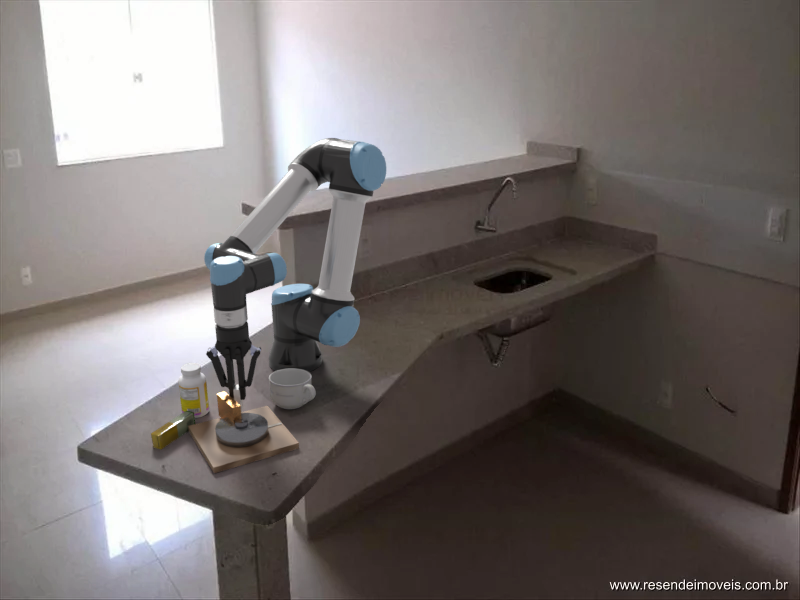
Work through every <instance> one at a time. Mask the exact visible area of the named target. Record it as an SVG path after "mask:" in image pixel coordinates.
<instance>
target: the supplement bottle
mask: <svg viewBox="0 0 800 600" xmlns="http://www.w3.org/2000/svg"><path fill="white" fill-rule="evenodd" d="M180 372H181V375H180V376H179V377H178V380H177V382H178V390H179V397H180V406H181V414H182V413H183V412H185V411H191V412H194V417H195V419H199V418H202V417H204V416H205V415H207V414H208V413H209V411H210V406H209V405H210V404H209V403H210V402H209V396H208V386H207V377H206V375H205V374H204V373H203V372H202V367H201V364H200V363H197V362H189V363H185V364H183V365H182V366H181V367H180Z"/></svg>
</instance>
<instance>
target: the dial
mask: <svg viewBox="0 0 800 600" xmlns="http://www.w3.org/2000/svg"><path fill="white" fill-rule="evenodd" d="M216 400H217V401H216V402H217V411H218V417H219V418H222V420H220V421H219V422H218V423H217V425H216V427H215V431H216V438H217V440H218V441H219V442H220V443H221V444H223V445H226V446H230V447H245V446H250V445H253V444H256V443H258V442H260V441H262V440H263V439H264V438H265V437H266V436H267V434H268V422H267V420H266V419H265V418H264V417H263V416H261V415H258V414H254V413H241V406H240V404H238V403H237V402H236V401H235V400H234V399H233V398H232V397H230V396H229V394H228V393H227V392H226V391H224V390H223V391H221V392H218V393H216Z"/></svg>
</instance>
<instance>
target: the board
mask: <svg viewBox="0 0 800 600" xmlns="http://www.w3.org/2000/svg"><path fill="white" fill-rule="evenodd" d="M241 413H254V414H258V415H261V416H263V417H264V418H265V419H266V420H267V422H268V434H267V436H266V437H265V438H264V439H263V440H262V441H260V442H258V443H256V444H253V445H250V446H245V447H230V446H226V445H223V444H221V443H220V442H219V441H218V440H217V438H216V431H215V427H216V425H217V423H218V422H219V421H220V420H222V418H221V417H217V418H214V419H210V420H205V421H203V422H202V421H201V422H198V423H196V424H194V425H190V426H188V430H189V432H188V433H189V435H190V436H191V438H192V439H193V441H194V443H195V444H196V446H197V448H198V449H199V451H200V453H201V455H202V456H203V457H204V459H205V461H206V463H207V464H208V466H209V467H210V469H211V471H212V472H213V474H217V473H221V472H223V471H227V470H230V469H234V468H237V467H241V466H245V465H247V464H250V463H254V462H256V461H257V462H258V461H261V460H265V459H269V458H271V457H275V456H278V455H282V454H286V453H289V452H291V451H295V450H298V449H300V443H299V441H298V440H297V439H296V438H295V437H294V435H293V434H292V433H291V432H290V430H289V429H288V428H287V427H286V426H285V424H283V423H282V421H281V420H280V419H279V417H278V416H277V415H276V414H275V413H274V412H273V410H272V409H271V408H270V407H269V406H268V405H264V406H260V407H256V408H252V409H249V410H244V411H242V412H241Z"/></svg>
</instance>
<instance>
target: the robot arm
mask: <svg viewBox="0 0 800 600" xmlns="http://www.w3.org/2000/svg"><path fill="white" fill-rule="evenodd" d="M386 176H387V161H386V158H385V156H384V155H383V152H382V151H381V149H380V147H378V146H376V145H374V144H372V143H368V142H365V141H357V140H350V139H349V140H348V139H339V138H336V137H327V138H323V139H320V140H318V141H316V142H314V143H313V144H311V145H309V146H308V147H307V148H305V149H304V150H303V151H301V152H300V153H299V154H298V155H297V156H296V157H295V158H294V159H293V160H292V161H291V162H290V163H289V165H288V166H287V172H286V173H285V175H283V177H282V178H281V179H280V180H279V181H278V182H277V183H276V185H275V186H274V187H272V189H271V190H270V192H268V194H266V195H265V197H264V198H263V199H262V200H261V201H260V202H259V203H258V205H256V207H255V208H254V209H253V210H252V211H251V212H250V213H249V214H248V215H247V216H246V217H245V219H244V220H243V221H242V223H240V224H239V226H238V227H237V228H236V229H235V230H234V231H233V233H231V234H230V236H228V238H227V239H226V240H225V241H224V242H223V243H222V242H220V243H219V242H217V243H213V244H211V245H209V247H207V249H206V251H205V253H204V257H203V259H204V264H205V266H206V269H208V270H209V280H210V286H211V295H212V297H211V298H212V304H213V306H212V307H213V317H214V323H215V324H214V325H215V326H214V329H215V337H216V341H215V344H214V346H212V347H208V348H207V351H206V353H205V355H206V356H207V358H208V359H209V360H210V362H211V364H212V367H213V369H214V371H215V373H216V377H217V379H218V382H219V385H220V386H221V388H225V387H226V388H227V389H228V393H229V394H228V395H229V396H230V397H232V398H233V399H234V400H235V401H236V402H237V403H238V404H240V406H241V412H243V409H244V405H243V401H245V399H246V396H247V390H246V388H247V387H248V388H249V387H251V386H252V383H253V380H254V375H255V370H256V366H257V360H258V358H259V357H260V355H261V352H262V347H261V346H255V345H254V344H253V343H252V341H251V339H250V332H249V330H250V329H249V323H248V318H249V317H248V307H247V295H249V294H252V293H254V292H257V291H260V290H262V289H266V288H268V287H269V288H270V287H274V286H275V285H277V284H279V283H281V282H283V281H284V280H285V279H286V277H287V273H288V271H287V263H286V261H285V259H284V258H283V256H281V254H279V253H277V252H271V253H268V252H267V253H264V254H262V255H260V254H256V253H257V252H258V251H259V250H260V249H261V247H262V246H264V244H265V243H266V242H267V241H268V239H270V237H271V236H272V235H273V233H275V232H276V230H278V228H279V227H280V225H282V224H283V223H284V221H285V220H286V219H287V218H288V217H289V216H290V214H291V213H292V212H293V211H294V210H295V209H296V207H297V206H298V205H299V204H300V203H301V202H302V201H303V199H304V198H305V197H306V196H307V195H308V194H309V193H310V192H314V191H317V189H319V187H320V186H321V185H322V184H325V183H329V184H328V191H329V192H330V194H331V195H332V203H331V209H330V210H331V211H330V215H329V221H328V227H327V233H326V239H325V245H324V249H323V256H322V263H321V269H320V275H319V280H318V285H317V287H315V288H314V286H313V285H311V284H309V283H292V284H286V285H283V286H279V287H278V288H275V289H274V290H273V291H272V293H271V303H270V305H271V317H272V329H273V341H272V344H271V347H270V351H269V355H268V365H269V367H270V369H271V370H273V371H274V372H275V371H277V370H282V369H288V368H295V369H302V370H306V371H308V372H309V373H311V372H312V371H315V370H317V369H318V368H319V367H321V365H322V364H323V354H322V351H321V349H320V346H319V344H318V343H320V344H321V345H324V346H329V347H334V348H340V347H343V346H345V345H347V344H348V343H350V341H351V340H352V339H354V337H355V335H356V334H357V331H358V329H359V327H360V321H361V319H360V318H361V317H360V314H359V311H358V310H357V309H356V308H355V307H354V303H355V296H354V295H353V294H352V292H351V287H352V283H353V282H352V281H353V277H354V271H355V265H356V259H357V253H358V247H359V242H360V237H361V231H362V226H363V219H364V214H365V207H366V203H367V202H368V201H370V200H371V199H373V196H374V191H376V190H378V189H380V188H381V187H382V184H384V182H385V180H386ZM249 351H250V353H249V354H250V355H251V359H250V362H249V363H250V364H249V368H248V374H247V378H246V376H245V375H246V374H245V361H244V360H245V359H244V358H245V357H246V355H247V353H248V352H249ZM219 354H220V355H221V356H222V357H223V358H224V359H225V362H224V363H225V366H226V374H225V370H224V367H223V365H222V362H221V360H220V356H219ZM234 360H236V362H235V363H236V369H237V378H238V379H237V383H238V384H236V379H235V377H236V376H235V368H234ZM226 375H227V376H226Z"/></svg>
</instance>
